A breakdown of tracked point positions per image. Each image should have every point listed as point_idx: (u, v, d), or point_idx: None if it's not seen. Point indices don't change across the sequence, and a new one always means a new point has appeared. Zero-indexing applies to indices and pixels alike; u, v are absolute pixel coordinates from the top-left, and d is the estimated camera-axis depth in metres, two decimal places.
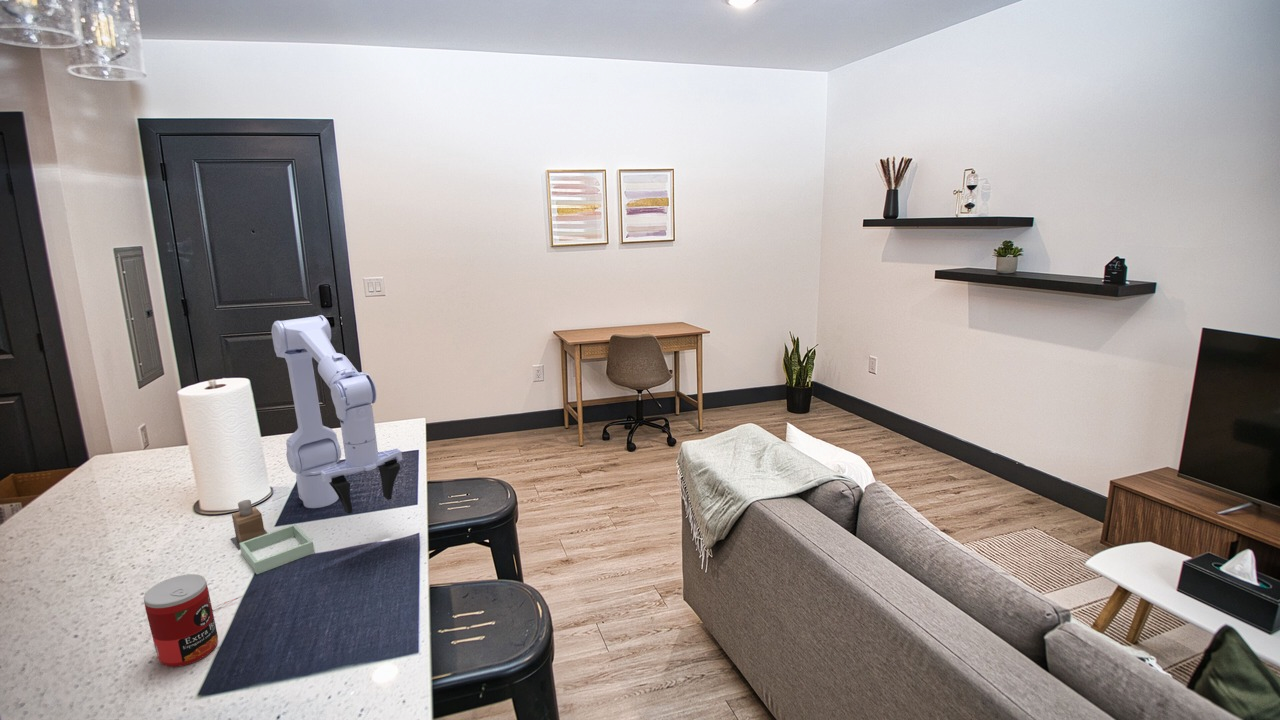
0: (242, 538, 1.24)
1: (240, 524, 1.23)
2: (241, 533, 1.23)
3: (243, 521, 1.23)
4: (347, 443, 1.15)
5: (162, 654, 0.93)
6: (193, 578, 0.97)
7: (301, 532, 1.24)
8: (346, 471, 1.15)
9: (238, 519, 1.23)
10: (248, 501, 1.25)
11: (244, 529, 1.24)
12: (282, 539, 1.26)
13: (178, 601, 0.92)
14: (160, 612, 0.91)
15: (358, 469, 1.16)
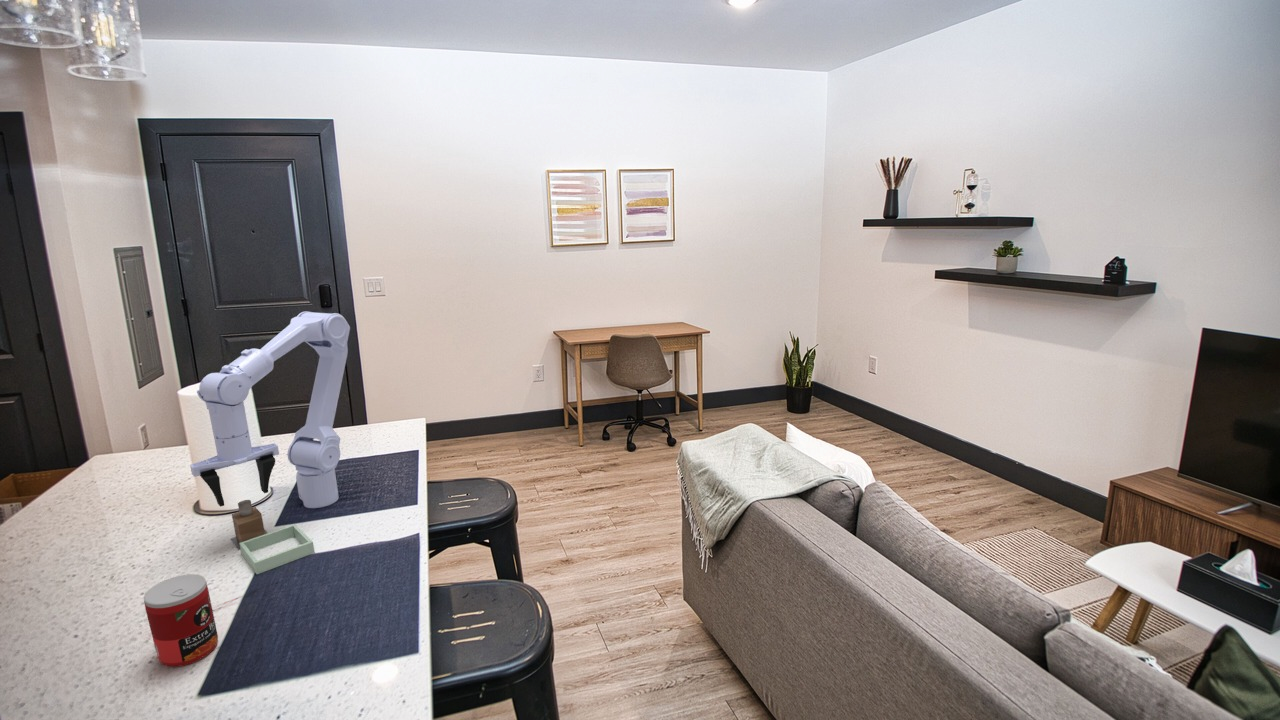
0: (242, 538, 1.24)
1: (240, 524, 1.23)
2: (241, 533, 1.23)
3: (243, 521, 1.23)
4: (216, 437, 1.19)
5: (162, 654, 0.93)
6: (193, 578, 0.97)
7: (301, 532, 1.24)
8: (215, 465, 1.18)
9: (238, 519, 1.23)
10: (248, 501, 1.25)
11: (244, 529, 1.24)
12: (282, 539, 1.26)
13: (178, 601, 0.92)
14: (160, 612, 0.91)
15: (228, 463, 1.19)
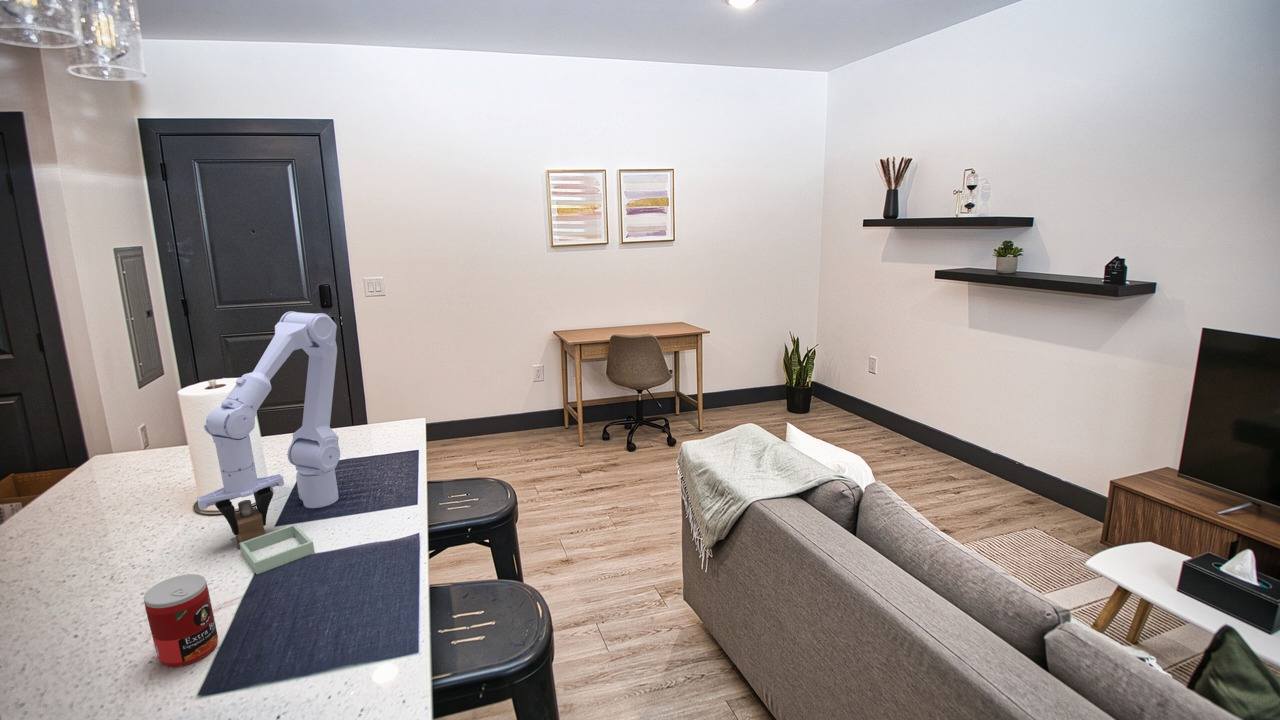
0: (242, 538, 1.24)
1: (240, 524, 1.23)
2: (241, 533, 1.23)
3: (243, 521, 1.23)
4: (223, 471, 1.20)
5: (162, 654, 0.93)
6: (193, 578, 0.97)
7: (301, 532, 1.24)
8: (222, 498, 1.20)
9: (238, 519, 1.23)
10: (248, 501, 1.25)
11: (244, 529, 1.24)
12: (282, 539, 1.26)
13: (178, 601, 0.92)
14: (160, 612, 0.91)
15: (234, 496, 1.21)
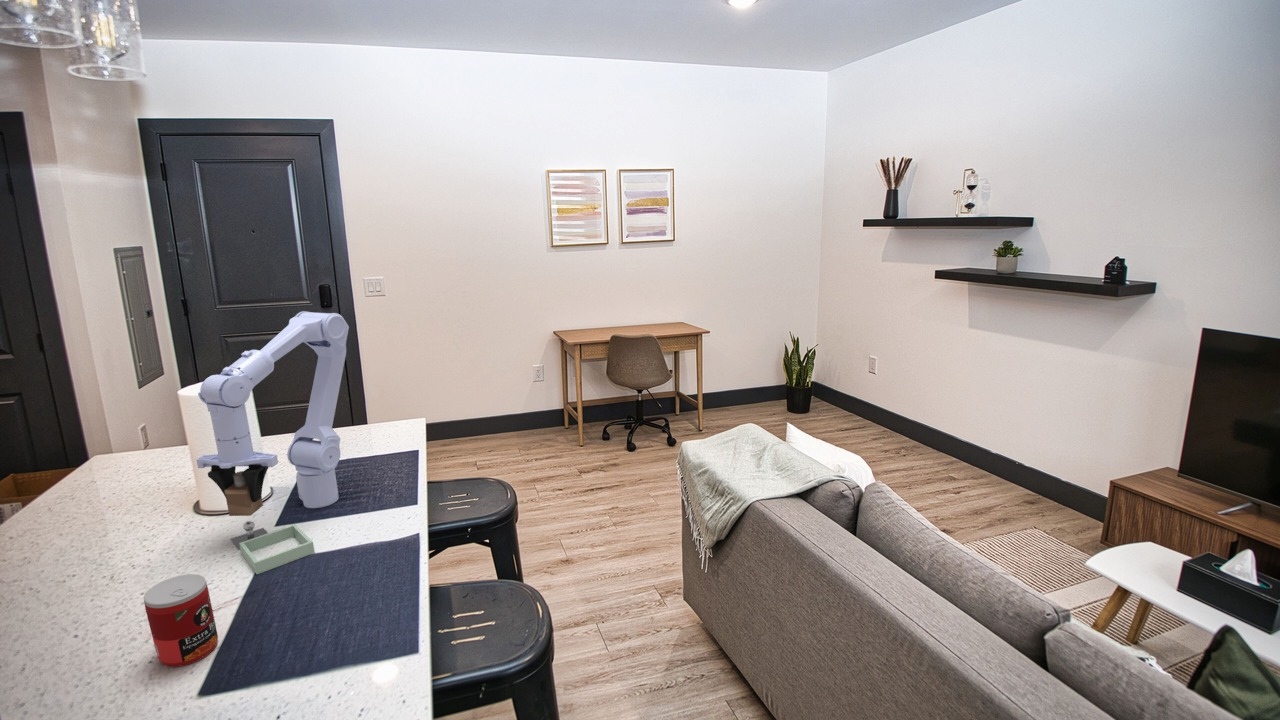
0: (229, 508, 1.22)
1: (227, 494, 1.22)
2: (228, 503, 1.22)
3: (229, 492, 1.22)
4: None
5: (162, 654, 0.93)
6: (193, 578, 0.97)
7: (301, 532, 1.24)
8: (211, 462, 1.20)
9: (228, 488, 1.22)
10: None
11: (230, 500, 1.22)
12: (282, 539, 1.26)
13: (178, 601, 0.91)
14: (160, 612, 0.91)
15: (219, 464, 1.20)
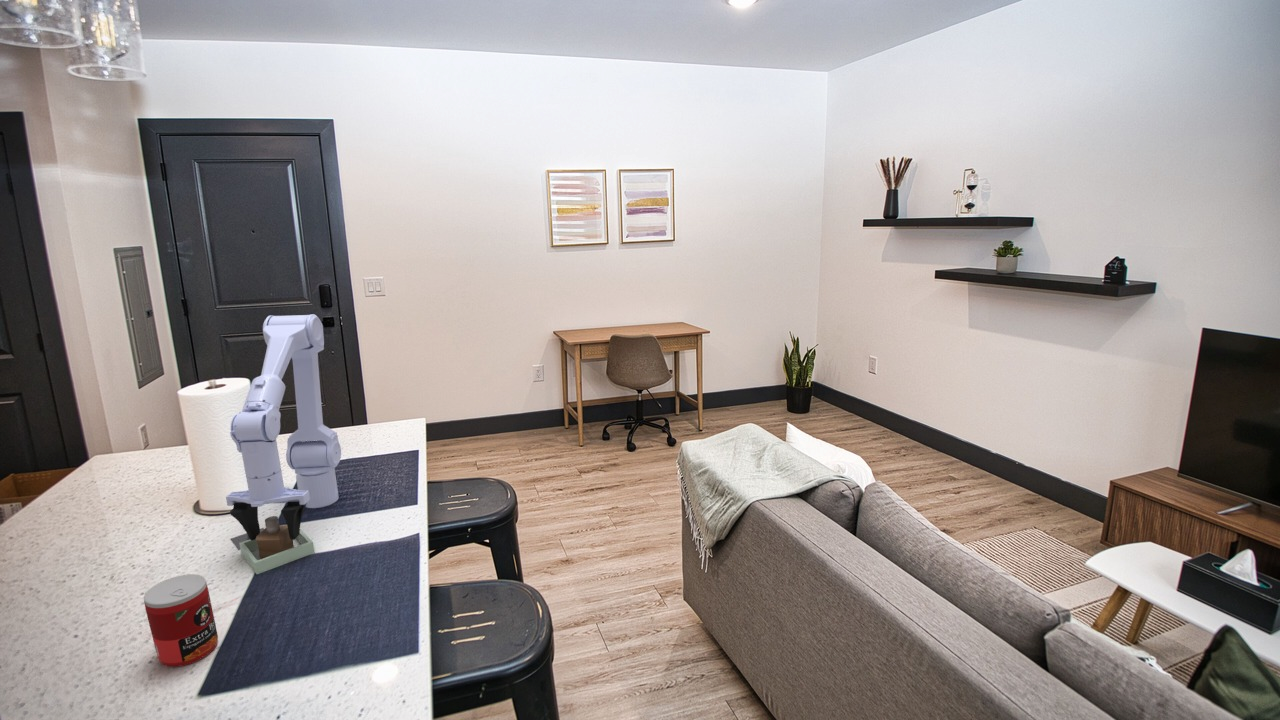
0: (261, 554, 1.19)
1: (258, 540, 1.18)
2: (260, 549, 1.19)
3: (261, 538, 1.18)
4: None
5: (162, 654, 0.93)
6: (193, 578, 0.97)
7: (301, 532, 1.24)
8: (241, 500, 1.16)
9: (259, 534, 1.19)
10: (274, 519, 1.19)
11: (262, 546, 1.19)
12: None
13: (178, 601, 0.92)
14: (160, 612, 0.91)
15: (249, 502, 1.16)
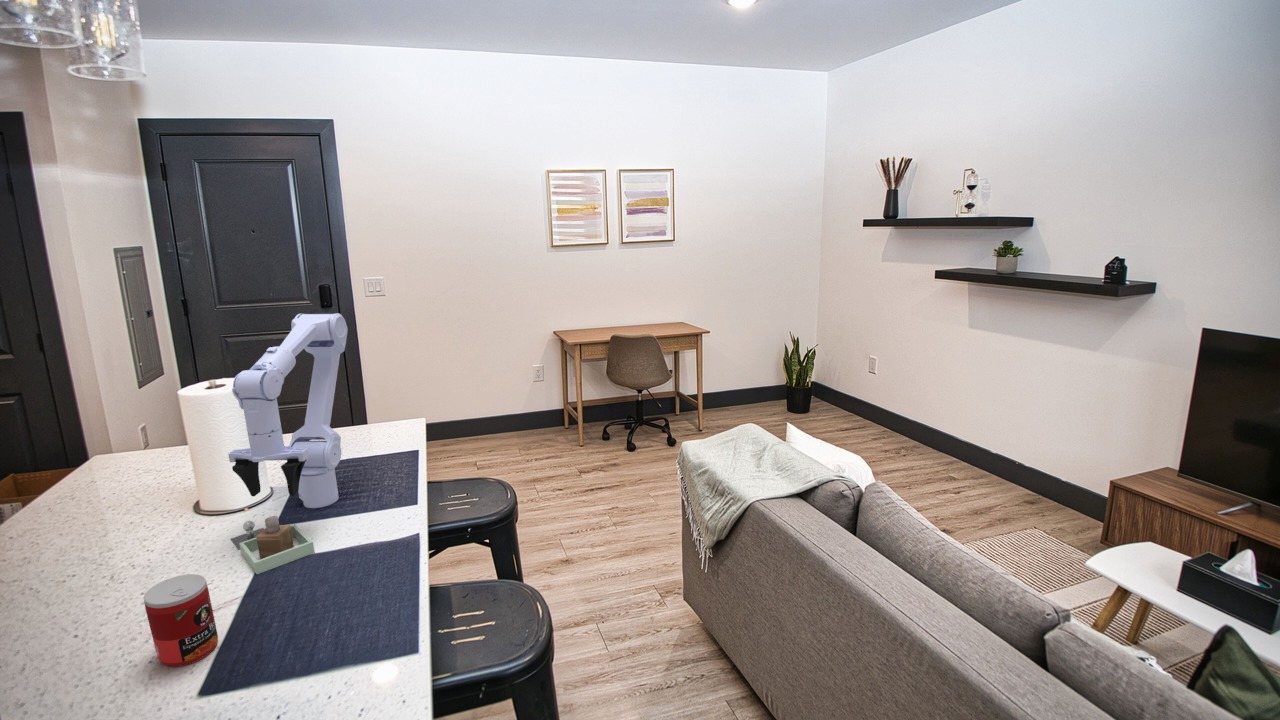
0: (261, 554, 1.19)
1: (258, 540, 1.18)
2: (260, 549, 1.19)
3: (261, 538, 1.18)
4: None
5: (162, 654, 0.93)
6: (193, 578, 0.97)
7: (301, 532, 1.24)
8: (243, 456, 1.22)
9: (259, 534, 1.19)
10: (274, 519, 1.19)
11: (262, 546, 1.19)
12: None
13: (178, 601, 0.92)
14: (160, 612, 0.91)
15: (251, 458, 1.21)
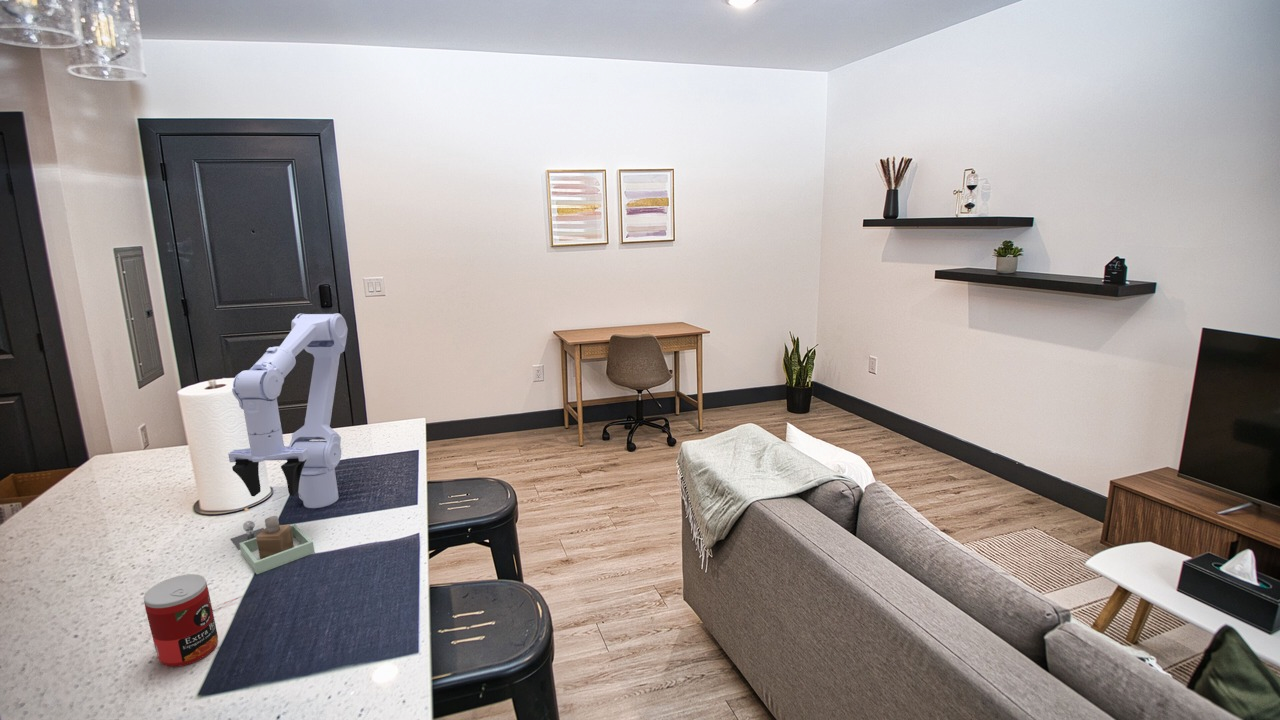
0: (261, 554, 1.19)
1: (258, 540, 1.18)
2: (260, 549, 1.19)
3: (261, 538, 1.18)
4: None
5: (162, 654, 0.93)
6: (193, 578, 0.97)
7: (301, 532, 1.24)
8: (243, 456, 1.22)
9: (259, 534, 1.19)
10: (274, 519, 1.19)
11: (262, 546, 1.19)
12: None
13: (178, 601, 0.92)
14: (160, 612, 0.91)
15: (251, 458, 1.21)
